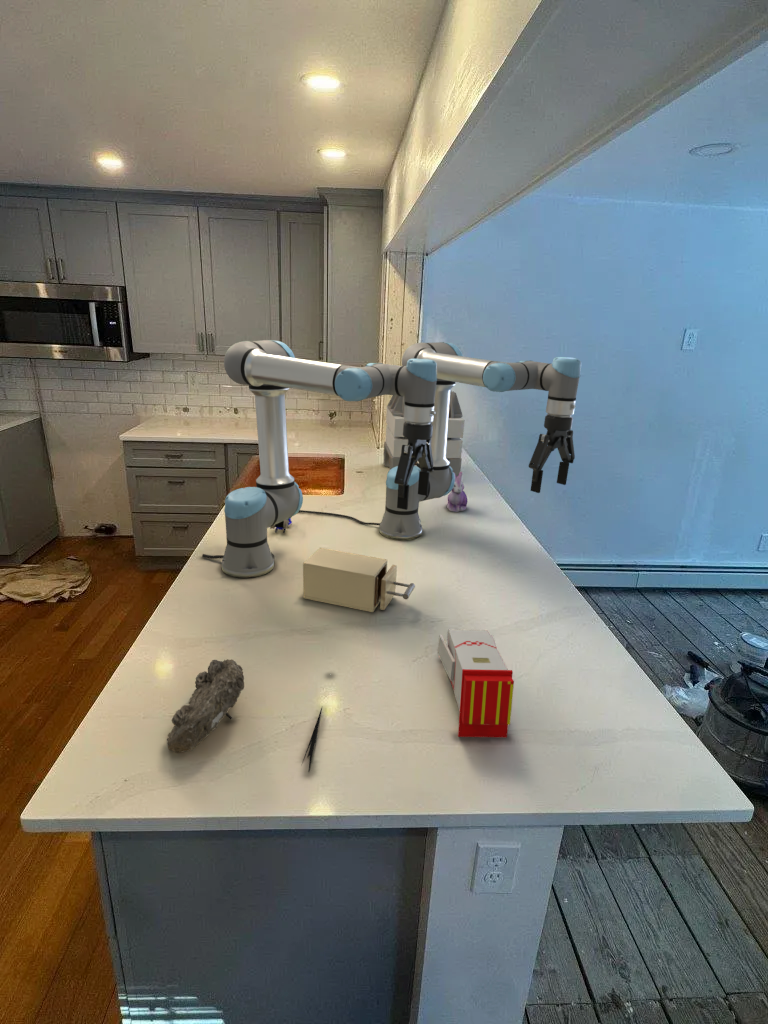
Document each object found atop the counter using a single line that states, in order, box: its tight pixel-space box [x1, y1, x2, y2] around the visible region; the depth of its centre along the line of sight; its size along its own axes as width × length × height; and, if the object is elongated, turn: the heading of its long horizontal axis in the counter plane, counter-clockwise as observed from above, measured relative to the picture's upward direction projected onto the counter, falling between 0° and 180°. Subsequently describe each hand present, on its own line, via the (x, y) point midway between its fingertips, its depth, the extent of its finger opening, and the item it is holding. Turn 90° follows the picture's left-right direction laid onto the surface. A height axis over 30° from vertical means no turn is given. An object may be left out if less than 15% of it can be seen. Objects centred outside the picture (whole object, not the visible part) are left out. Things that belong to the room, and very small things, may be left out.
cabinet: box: [302, 547, 388, 613], centre depth 154 cm, size 20×11×11 cm, turn 72°
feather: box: [301, 673, 332, 771], centre depth 108 cm, size 2×28×2 cm
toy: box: [437, 628, 515, 738], centre depth 117 cm, size 12×13×30 cm
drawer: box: [374, 564, 416, 611], centre depth 152 cm, size 25×10×9 cm, turn 72°
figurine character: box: [269, 517, 292, 534], centre depth 199 cm, size 7×8×15 cm
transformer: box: [383, 389, 465, 476], centre depth 268 cm, size 34×33×41 cm
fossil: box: [166, 658, 245, 754], centre depth 106 cm, size 22×10×15 cm
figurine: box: [446, 471, 468, 512], centre depth 225 cm, size 9×10×15 cm
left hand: (412, 501), depth 151 cm, fingers open, 13 cm apart
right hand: (548, 487), depth 165 cm, fingers open, 13 cm apart
